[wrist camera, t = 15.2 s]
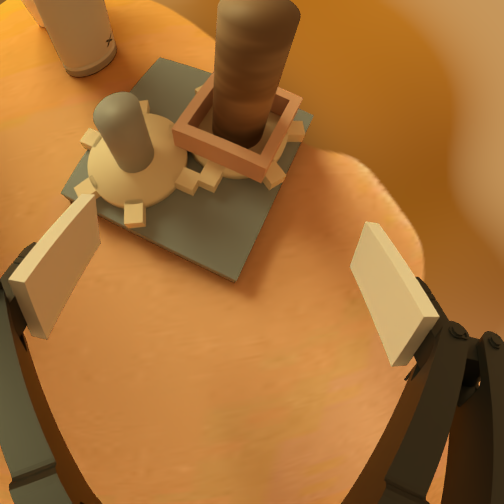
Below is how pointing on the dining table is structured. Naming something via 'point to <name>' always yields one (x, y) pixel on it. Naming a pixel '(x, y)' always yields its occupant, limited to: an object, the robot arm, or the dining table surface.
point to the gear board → (185, 167)
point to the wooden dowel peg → (249, 65)
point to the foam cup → (33, 11)
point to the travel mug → (79, 34)
